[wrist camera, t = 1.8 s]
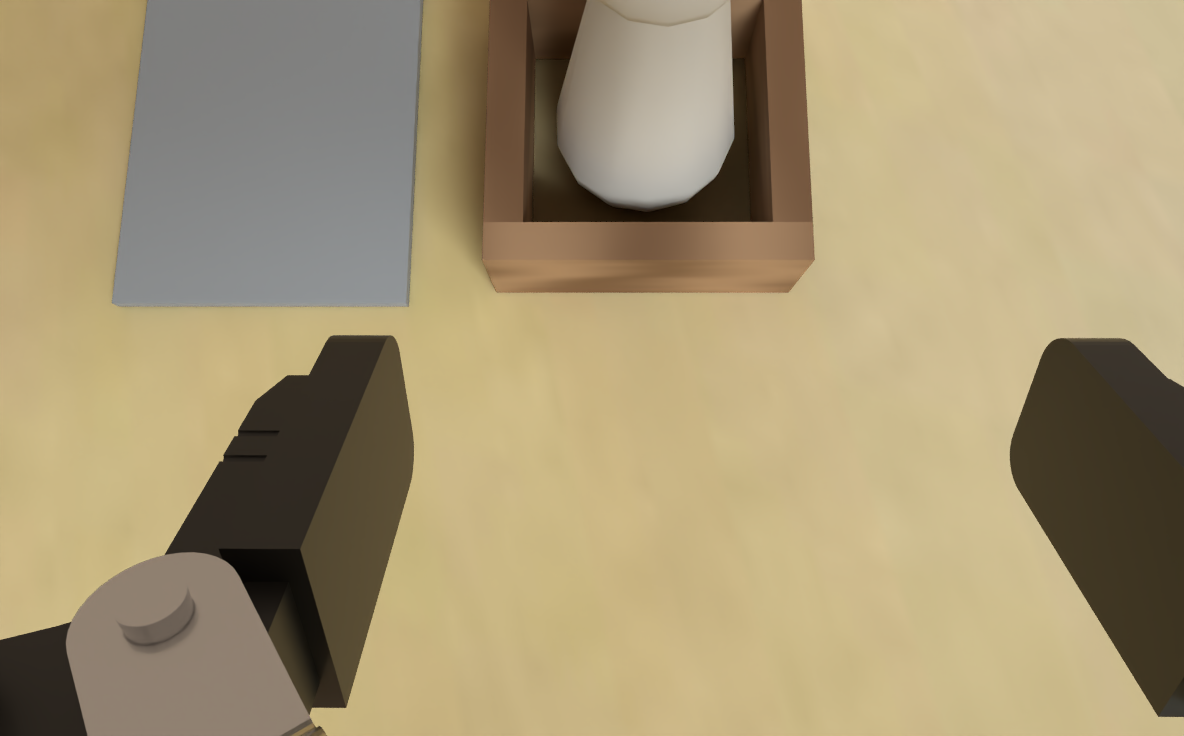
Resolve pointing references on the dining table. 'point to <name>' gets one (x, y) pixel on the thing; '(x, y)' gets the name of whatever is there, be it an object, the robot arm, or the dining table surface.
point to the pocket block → (649, 249)
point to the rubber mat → (272, 154)
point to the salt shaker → (648, 100)
